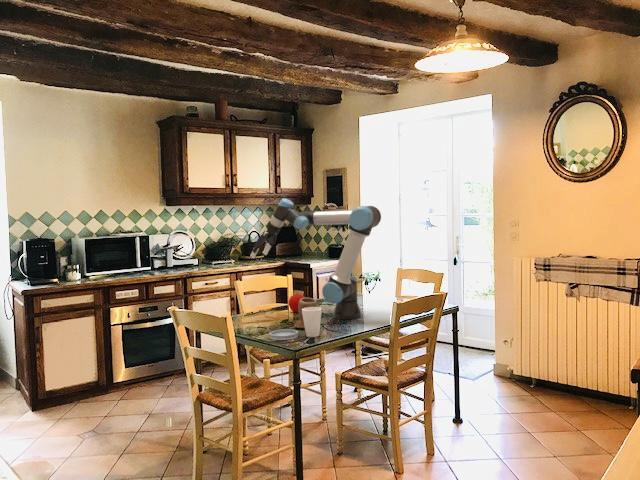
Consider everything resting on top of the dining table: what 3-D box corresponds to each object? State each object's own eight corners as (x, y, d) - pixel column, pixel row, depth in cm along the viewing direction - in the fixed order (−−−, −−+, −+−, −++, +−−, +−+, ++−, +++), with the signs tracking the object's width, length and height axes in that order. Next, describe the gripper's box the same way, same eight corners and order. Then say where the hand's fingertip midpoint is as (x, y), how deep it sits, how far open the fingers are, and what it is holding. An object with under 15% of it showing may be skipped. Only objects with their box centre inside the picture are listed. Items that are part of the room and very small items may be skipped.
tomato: (308, 309, 339) (307, 292, 339) (305, 313, 329) (305, 295, 328) (290, 310, 340) (289, 292, 340) (287, 313, 330) (287, 295, 329)
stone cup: (314, 330, 286) (312, 300, 285) (291, 329, 289) (290, 300, 288) (322, 323, 300) (320, 295, 299) (300, 323, 304) (299, 295, 303)
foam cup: (320, 337, 269) (319, 310, 268) (301, 337, 271) (300, 310, 270) (324, 333, 279) (322, 307, 278) (305, 333, 280) (304, 307, 279)
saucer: (298, 332, 282) (298, 328, 282) (297, 339, 268) (297, 335, 268) (270, 333, 282) (270, 329, 282) (268, 340, 268) (267, 336, 268)
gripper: (280, 219, 327) (264, 249, 334) (258, 222, 305) (241, 254, 311) (290, 226, 325) (274, 256, 331) (269, 229, 302) (251, 262, 309)
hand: (258, 255), depth 321 cm, fingers open, 13 cm apart
